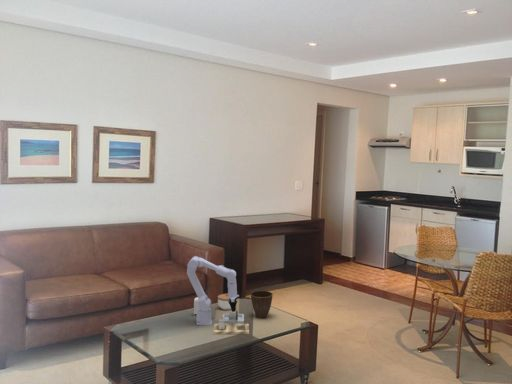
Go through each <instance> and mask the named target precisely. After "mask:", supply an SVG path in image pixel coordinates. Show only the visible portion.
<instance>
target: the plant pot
mask: <svg viewBox="0 0 512 384" xmlns="http://www.w3.org/2000/svg"><path fill="white" fill-rule="evenodd" d="M273 296H274V295H273V292H270V291H267V290H256V291H253V292H251V293H250V301H251V304H252V310H253V312H254V315H255V317H256V318H258V319H267V318H268V315H269V313H270V310H271V306H272V300H273Z"/></svg>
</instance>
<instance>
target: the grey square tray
mask: <svg viewBox="0 0 512 384" xmlns="http://www.w3.org/2000/svg"><path fill="white" fill-rule="evenodd" d="M222 319H225V324H245V314H244V313H238V321H229V313H223V314H222Z"/></svg>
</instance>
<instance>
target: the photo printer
mask: <svg viewBox="0 0 512 384" xmlns="http://www.w3.org/2000/svg"><path fill="white" fill-rule="evenodd" d="M193 300H194V301H193V315H194V314H197V310H200V304H199V300H198V296H197V297H195V298H194V299H193Z"/></svg>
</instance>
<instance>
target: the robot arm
mask: <svg viewBox="0 0 512 384" xmlns="http://www.w3.org/2000/svg"><path fill="white" fill-rule="evenodd" d="M202 267H204V268H208V269H210V270H212V271H215V274H217V275H219V276H221V277H222V278H226V280H227V294H228V298H229V299H230V301H228V302H229V304H230V306H231V310H230V311H232V312H235V311H237V310H236V309H237V303H238V297H240V295H239V294H238V290H237V289H238V288H237V287H238V285H237V278H236V277H237V272H236V270H234V269H231V268H227V267H225V265H223V264H221V265H216V264H214V263H212V262H210V261H208V260H206V259H205V258H202V257H199V256H198V255H194V256H192V257H191V259H190V260H189V261H188V263H187V269H186V275H187V277H188V279H189V281H190V284H191V286H192V289H194V292H195V294H196V296H197V297H198V300H199V304H200V310H197V315H196V320H195V321H196V326H203V325H204V326H206V325H207V326H209V325H210V326H211V325H212V324H213V323H212V322H213V320H212V308H211V305H212V300H211V299H210V298H209V297H208V295H207V294H206V292H205V290H204V288H203V287H202V284H201V281H200V280H199V278H198V276H197V274H196V271H197V268H202Z"/></svg>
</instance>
